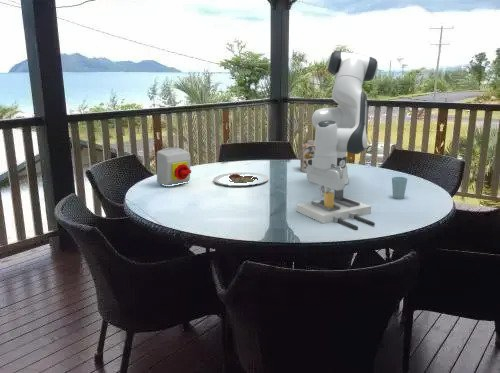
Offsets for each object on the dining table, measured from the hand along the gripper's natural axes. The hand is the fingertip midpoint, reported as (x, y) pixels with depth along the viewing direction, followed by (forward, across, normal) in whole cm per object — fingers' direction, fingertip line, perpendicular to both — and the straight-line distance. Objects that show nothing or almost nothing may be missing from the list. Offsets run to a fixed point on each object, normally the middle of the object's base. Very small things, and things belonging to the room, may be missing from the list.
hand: (324, 196), depth 169 cm
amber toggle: (+4, -3, 0) cm, 5 cm away
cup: (+7, +2, -43) cm, 44 cm away
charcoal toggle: (+4, +4, -10) cm, 11 cm away
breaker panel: (+7, 0, -4) cm, 8 cm away
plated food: (+8, +70, +3) cm, 70 cm away
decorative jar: (+7, +72, -45) cm, 85 cm away
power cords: (+7, -15, -2) cm, 17 cm away
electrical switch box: (+7, +81, +36) cm, 88 cm away
